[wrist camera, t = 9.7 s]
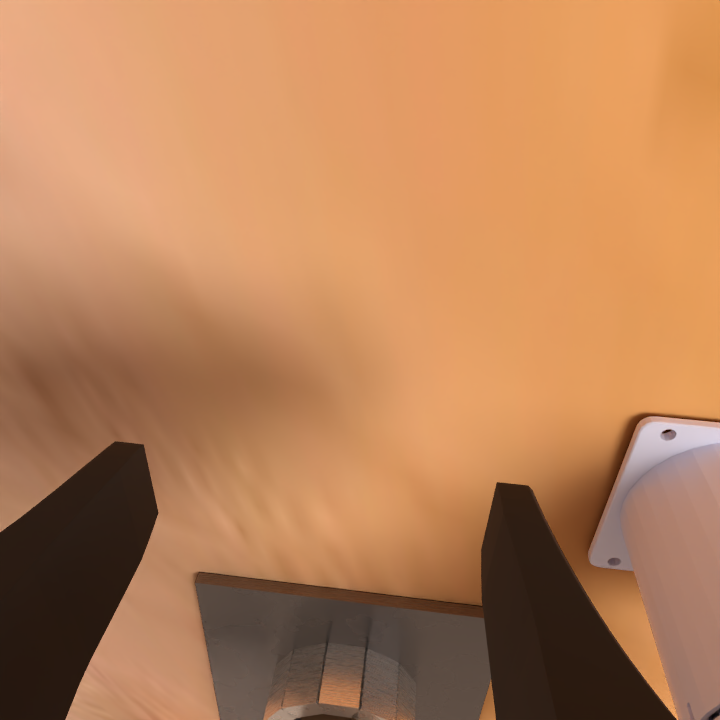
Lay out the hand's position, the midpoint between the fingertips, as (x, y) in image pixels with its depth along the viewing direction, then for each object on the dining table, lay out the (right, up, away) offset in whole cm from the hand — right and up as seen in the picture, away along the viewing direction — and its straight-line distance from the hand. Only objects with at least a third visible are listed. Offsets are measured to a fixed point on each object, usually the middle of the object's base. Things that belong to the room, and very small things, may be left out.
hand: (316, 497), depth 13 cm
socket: (0, -14, +21) cm, 26 cm away
